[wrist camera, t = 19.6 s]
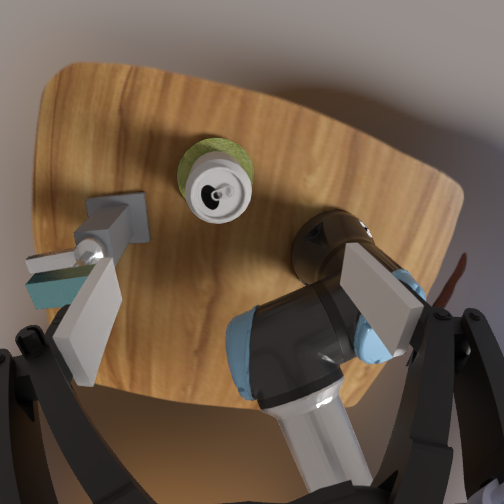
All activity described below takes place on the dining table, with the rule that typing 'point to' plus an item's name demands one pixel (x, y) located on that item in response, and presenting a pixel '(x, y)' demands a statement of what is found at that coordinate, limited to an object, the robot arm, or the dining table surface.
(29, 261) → the teal grip latch lever
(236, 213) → the can
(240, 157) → the mat
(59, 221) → the dining table surface
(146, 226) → the grey pedestal post
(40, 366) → the robot arm
